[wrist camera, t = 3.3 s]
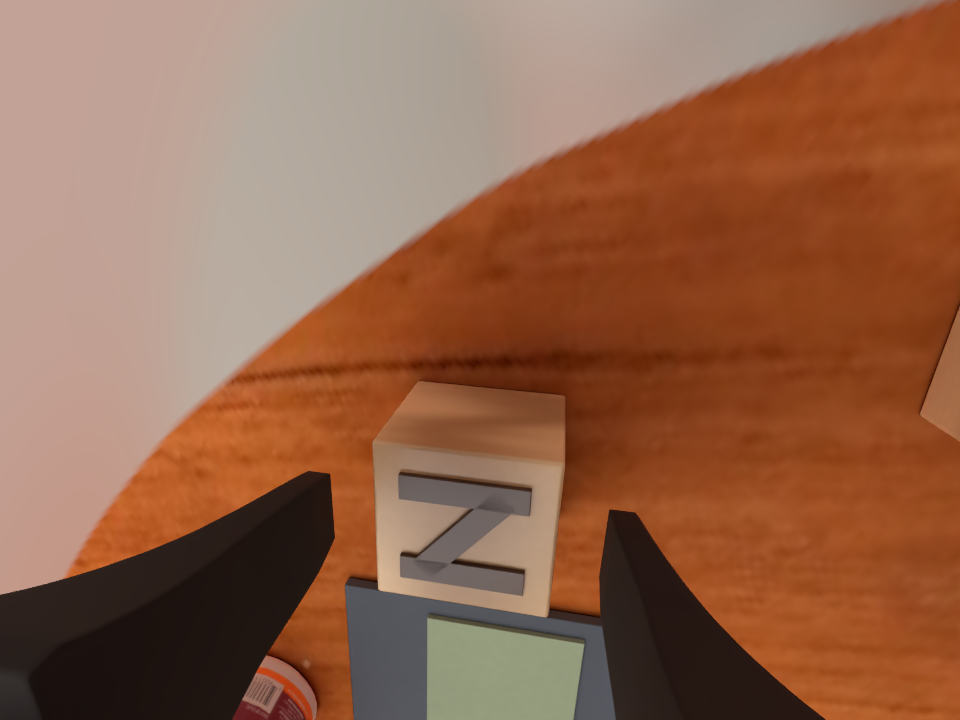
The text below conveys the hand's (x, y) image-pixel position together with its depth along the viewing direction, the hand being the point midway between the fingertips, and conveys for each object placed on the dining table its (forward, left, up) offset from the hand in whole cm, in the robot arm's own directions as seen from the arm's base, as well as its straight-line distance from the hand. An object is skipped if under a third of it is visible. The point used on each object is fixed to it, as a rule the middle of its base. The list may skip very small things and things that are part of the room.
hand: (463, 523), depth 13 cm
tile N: (0, 0, -4) cm, 4 cm away
